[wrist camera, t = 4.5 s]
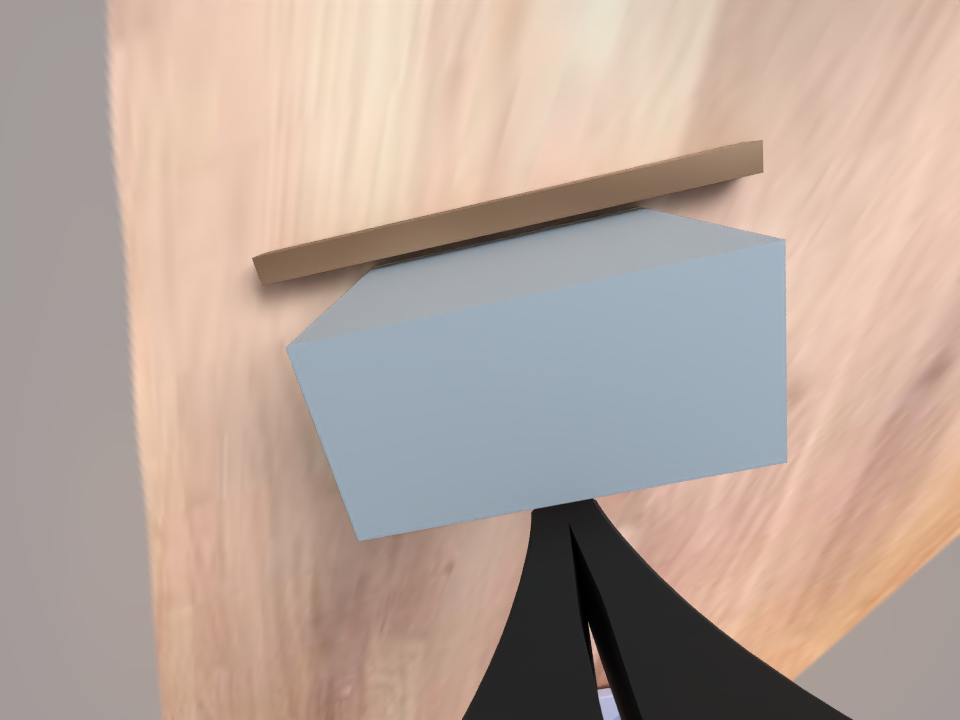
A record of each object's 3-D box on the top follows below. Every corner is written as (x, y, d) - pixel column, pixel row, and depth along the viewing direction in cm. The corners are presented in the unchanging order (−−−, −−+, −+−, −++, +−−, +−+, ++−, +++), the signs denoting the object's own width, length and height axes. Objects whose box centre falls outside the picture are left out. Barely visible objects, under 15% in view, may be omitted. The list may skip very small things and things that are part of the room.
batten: (744, 172, 14) (763, 172, 13) (275, 278, 15) (262, 285, 14) (743, 142, 14) (762, 139, 13) (266, 252, 15) (251, 258, 14)
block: (652, 334, 16) (787, 462, 9) (409, 385, 17) (358, 541, 10) (638, 206, 15) (785, 240, 8) (374, 266, 15) (285, 347, 8)
